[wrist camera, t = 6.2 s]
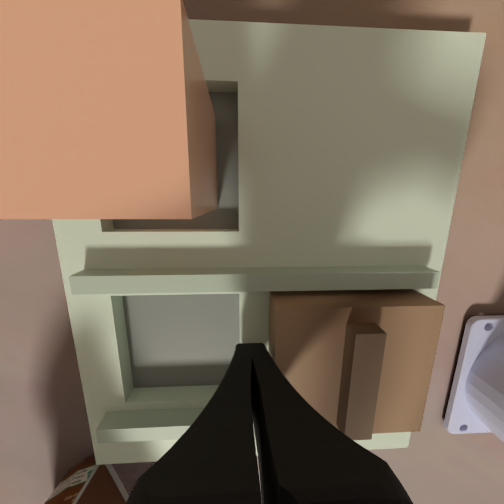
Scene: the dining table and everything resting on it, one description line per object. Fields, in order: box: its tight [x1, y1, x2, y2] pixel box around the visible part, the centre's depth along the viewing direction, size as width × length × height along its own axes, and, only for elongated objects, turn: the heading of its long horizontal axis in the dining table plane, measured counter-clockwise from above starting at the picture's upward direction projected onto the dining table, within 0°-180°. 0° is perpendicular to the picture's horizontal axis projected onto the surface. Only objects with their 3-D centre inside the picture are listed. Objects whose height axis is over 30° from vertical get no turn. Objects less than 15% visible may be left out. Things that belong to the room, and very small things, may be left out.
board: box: [52, 19, 486, 465], centre depth 11 cm, size 18×21×2 cm
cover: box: [268, 289, 445, 440], centre depth 11 cm, size 7×6×3 cm
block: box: [0, 0, 218, 219], centre depth 8 cm, size 4×4×6 cm
